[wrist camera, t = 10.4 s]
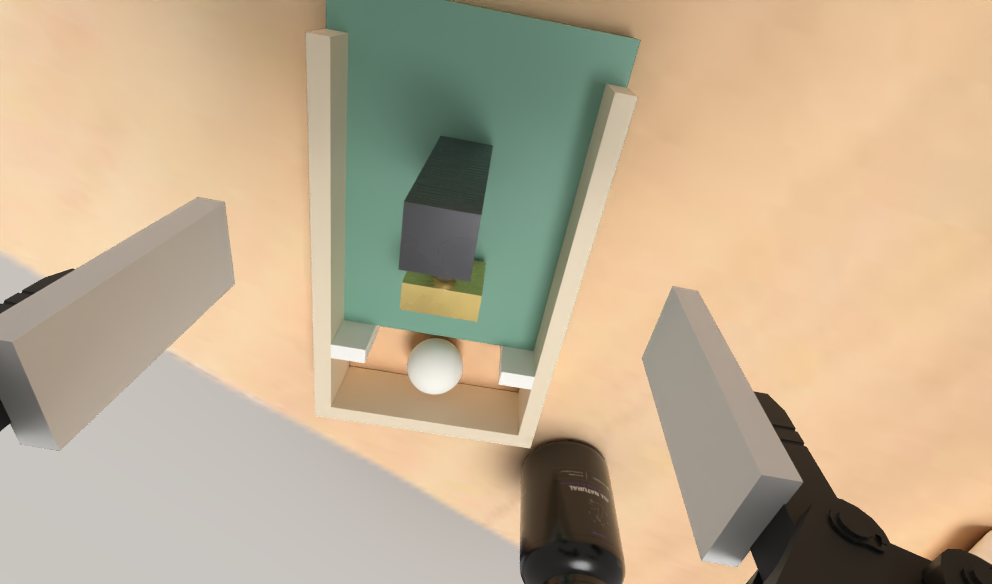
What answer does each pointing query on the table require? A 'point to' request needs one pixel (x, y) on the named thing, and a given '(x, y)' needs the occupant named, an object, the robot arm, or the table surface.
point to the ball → (435, 366)
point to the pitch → (507, 204)
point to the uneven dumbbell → (445, 231)
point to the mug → (984, 548)
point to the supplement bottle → (568, 518)
